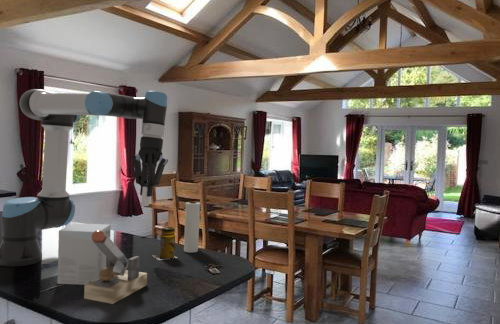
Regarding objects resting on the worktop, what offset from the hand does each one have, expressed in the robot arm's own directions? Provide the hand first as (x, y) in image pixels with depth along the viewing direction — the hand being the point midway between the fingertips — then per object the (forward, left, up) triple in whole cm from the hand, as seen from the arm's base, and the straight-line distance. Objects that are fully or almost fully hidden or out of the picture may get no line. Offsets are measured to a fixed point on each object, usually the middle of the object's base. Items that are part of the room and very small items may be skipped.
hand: (144, 205), depth 145 cm
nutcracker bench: (-5, -14, -25) cm, 29 cm away
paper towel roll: (+13, +39, -25) cm, 48 cm away
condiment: (+3, +28, -25) cm, 38 cm away
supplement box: (-19, -2, -25) cm, 32 cm away
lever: (-4, -11, -18) cm, 22 cm away
